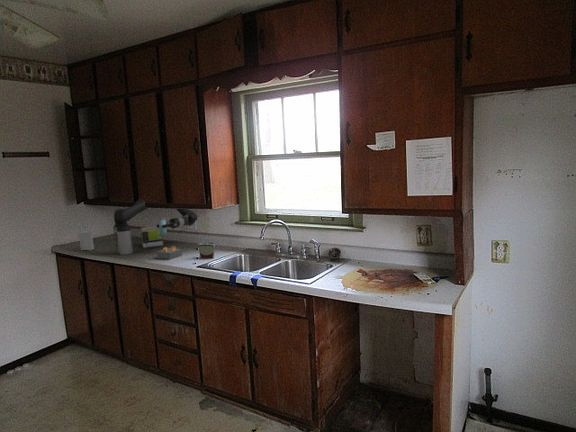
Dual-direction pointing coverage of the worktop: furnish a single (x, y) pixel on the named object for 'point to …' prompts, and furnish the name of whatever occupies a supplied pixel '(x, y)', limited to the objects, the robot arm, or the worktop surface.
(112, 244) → the worktop surface
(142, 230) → the tea box
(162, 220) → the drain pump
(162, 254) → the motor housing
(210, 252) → the food container
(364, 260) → the worktop surface
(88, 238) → the skincare box
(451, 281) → the worktop surface
